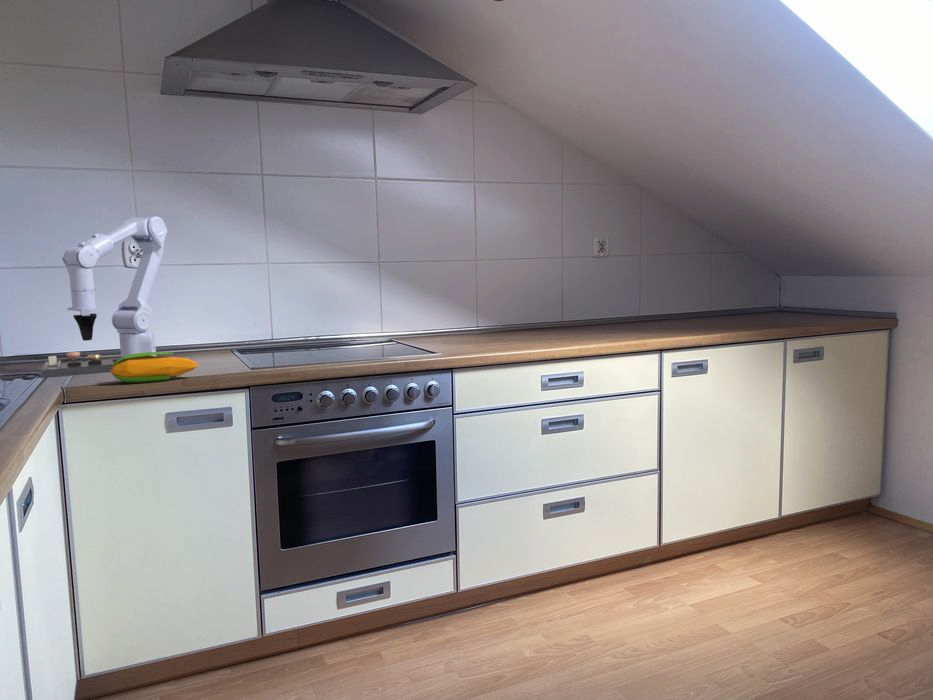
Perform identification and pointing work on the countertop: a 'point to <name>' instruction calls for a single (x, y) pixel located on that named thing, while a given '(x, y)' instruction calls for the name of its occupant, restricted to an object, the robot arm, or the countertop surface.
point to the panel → (76, 368)
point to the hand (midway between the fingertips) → (87, 340)
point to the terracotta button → (73, 355)
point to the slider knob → (52, 360)
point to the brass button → (94, 357)
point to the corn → (150, 367)
